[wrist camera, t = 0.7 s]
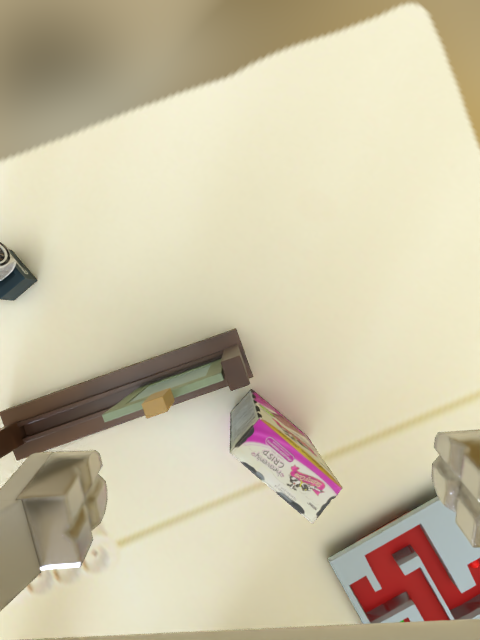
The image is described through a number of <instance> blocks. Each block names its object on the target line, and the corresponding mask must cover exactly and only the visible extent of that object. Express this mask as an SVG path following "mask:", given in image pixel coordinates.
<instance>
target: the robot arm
mask: <svg viewBox="0 0 480 640" xmlns="http://www.w3.org/2000/svg"><path fill="white" fill-rule="evenodd" d="M434 448H435V450H436V451H437V452H438V454H439V457H438V458H437V459H436V460H435V461H434V462H433V463H432V480H433V485H434V489H435V491H436V493H437V496H438V498H439V499H440V501H441V502H442V504H443V505H444V506H445V507H447V508H448V509H450V510H452V511H453V512H455V513H456V518H455V522H456V524H457V525H458V527H459V528H460V530H461V531H462V532H463V534H464V535H465V537H466V538H467V540H468V541H469V542H470V544H471V545H472V547H473V548H480V430H466V431H451V432H438V433H437V435H436V437H435V443H434ZM101 467H102V461H101V457H100V453H98V452H97V451H96V450H91V451H60V452H39V453H34V454H31V455H30V456H29V457H28V458H27V459H26V460H25V461H24V463H23V464H22V465H21V466H20V467H19V468H18V470H17V471H16V472H15V473H14V474H13V475H12V476H11V478H10V479H9V480H8V481H7V482H6V483H5V484H4V486H3V487H2V488H1V489H0V611H1V610H2V609H3V608H4V607H5V606H6V605H7V604H8V603H10V602H11V601H12V600H13V599H14V598H15V597H16V596H17V595H18V594H19V593H20V592H21V591H22V590H23V589H24V588H25V587H26V586H27V585H28V584H29V583H30V582H31V581H33V580H34V579H35V578H36V577H37V576H38V575H39V574H40V573H41V570H46V569H58V568H71V567H81V565H82V563H83V561H84V559H85V557H86V554H87V552H88V550H89V548H90V546H91V543H92V541H93V537H92V532H91V531H92V530H93V529H94V528H95V527H97V526H98V525H99V524H100V523H101V521H102V519H103V516H104V514H105V510H106V504H107V486H106V481H105V480H104V479H103V478H102V477H101V476H100V475H99V474H98V473H99V471H100V469H101ZM22 640H480V619H461V620H439V621H417V622H395V623H373V624H350V625H328V626H306V627H284V628H261V629H239V630H217V631H196V632H174V633H153V634H132V635H110V636H89V637H68V638H45V639H22Z"/></svg>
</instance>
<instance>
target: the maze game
mask: <svg viewBox="0 0 480 640" xmlns="http://www.w3.org/2000/svg"><path fill="white" fill-rule="evenodd" d="M455 518H456V513H455V512H453V511H452V510H450V509H448V508H447V507H445V506H444V505H443V504H442V502H441V501H440V499H439V498H438V496H437V497H435V498H433V499H431V500H430V501H428V502H426V503H424V504H423V505H421V506H419V507H417V508H416V509H414V510H412V511H409V512H407V513H405V514H404V515H402V516H400V517H398V518H396V519H395V520H393V521H391V522H389V523H388V524H386V525H384V526H382V527H381V528H379V529H377V530H375V531H374V532H372V533H370V534H368V535H367V536H365V537H363V538H361V539H360V540H358V541H357V542H356V543H354V544H352V545H351V546H349V547H347V548H345V549H344V550H342V551H340V552H338V553H337V554H335V555H333V556H331V557H329V558H328V561H329V563H330V565H331V567H332V568H333V570H334V572H335V574H336V576H337V577H338V579H339V581H340V583H341V584H342V586H343V588H344V590H345V592H346V593H347V595H348V597H349V599H350V601H351V602H352V604H353V606H354V608H355V610H356V611H357V613H358V615H359V617H360V619H361V620H362V622H363V624H373V623H395V622H417V621H439V620H461V619H480V548H473V547H472V545H471V544H470V542H469V541H468V540H467V538H466V537H465V535H464V534H463V532H462V531H461V530H460V528H459V527H458V525H457V524H456V522H455Z"/></svg>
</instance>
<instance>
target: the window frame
mask: <svg viewBox="0 0 480 640" xmlns="http://www.w3.org/2000/svg"><path fill="white" fill-rule="evenodd" d="M221 358H222V359H221ZM218 359H221V365H222V368H223V371H224V374H225V375H224V380H223V381H220V382H218V383H215V384H212V385H209V386H206V387H203V388H201V389H198V390H195V391H192V392H189V393H186V394H184V395H181V396H178V397H175V398H174V400H175V401H174V403H173V404H172V406H173V405H175V404H178V403H181V402H184V401H187V400H189V399H192V398H195V397H198V396H201V395H204V394H206V393H209V392H212V391H215V390H218V389H220V388H223V387H226V386H229V388H230V390H231V391H233V390H235V389H238V388H241V387H244V386H247V385H249V384H250V382H249V378H251V377H253V375H252V372H251V370H250V367H249V364H248V361H247V358H246V355H245V352H244V350H243V347H242V344H241V341H240V338H239V335H238V333H237V330H236V329H233V330H230V331H227V332H224V333H222V334H219V335H216V336H213V337H210V338H207V339H205V340H202V341H199V342H196V343H193V344H190V345H188V346H185V347H182V348H179V349H176V350H173V351H170V352H168V353H165V354H162V355H159V356H156V357H153V358H151V359H148V360H145V361H142V362H139V363H136V364H134V365H131V366H128V367H125V368H122V369H119V370H117V371H114V372H111V373H108V374H105V375H102V376H99V377H97V378H94V379H91V380H88V381H85V382H82V383H80V384H77V385H74V386H71V387H68V388H65V389H63V390H60V391H57V392H54V393H51V394H48V395H45V396H43V397H40V398H37V399H34V400H31V401H28V402H26V403H23V404H20V405H17V406H14V407H11V408H9V409H6V410H4V411H1V412H0V416H1V418H2V421H3V424H4V427H3V428H0V458H2V457H3V456H5V455H6V454H8V453H10V452H11V451H13V452H14V454H15V457H16V460H20V459H23V458H26V457H29V456H30V455H31V454H34V453H39V452H43V451H46V450H48V449H51V448H54V447H57V446H60V445H63V444H65V443H68V442H71V441H74V440H77V439H79V438H82V437H85V436H88V435H91V434H94V433H96V432H99V431H102V430H105V429H108V428H110V427H113V426H116V425H119V424H122V423H125V422H127V421H130V420H133V419H136V418H139V417H141V416H144V415H145V413H144V410H143V409H141V410H139V411H136V412H133V413H130V414H127V415H124V416H122V417H119V418H116V419H113V420H110V421H107V422H104V419H103V417H102V415H103V414H104V413H105V412H107V411H108V410H109V409H111V408H112V407H113V406H115V405H116V404H117V403H119V402H120V401H121V400H123V399H124V398H125V397H127V396H128V395H129V394H131V393H132V392H133V391H135V390H136V389H137V388H139V387H141V386H144V385H147V384H150V383H153V382H156V381H158V380H161V379H164V378H167V377H170V376H173V375H175V374H178V373H181V372H184V371H187V370H190V369H192V368H195V367H198V366H201V365H204V364H207V363H209V362H212V361H215V360H218Z"/></svg>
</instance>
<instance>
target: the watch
mask: <svg viewBox="0 0 480 640" xmlns="http://www.w3.org/2000/svg"><path fill="white" fill-rule="evenodd" d="M36 281H37V279H36V278H35V277H34V276H33V275H32V274H31V272H30V271H29V270H28V269H27V268H26V266H25V265H24V264H23V263H22V262H21V261H20V259H19V258H18V257H17V256H16V255H15V254H14V252H13V251H12V250H9V249H7V247H6V246H5V245H4V244H2V243H1V242H0V299H3V300H15V299H16V298H17V297H18V296H20V295H21V294H22V293H23V292H24V291H26V290H27V289H28V288H29V287H30V286H32V285H33V284H34V283H35V282H36Z"/></svg>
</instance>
